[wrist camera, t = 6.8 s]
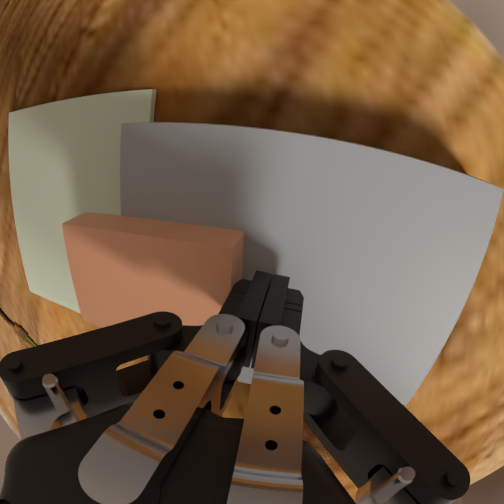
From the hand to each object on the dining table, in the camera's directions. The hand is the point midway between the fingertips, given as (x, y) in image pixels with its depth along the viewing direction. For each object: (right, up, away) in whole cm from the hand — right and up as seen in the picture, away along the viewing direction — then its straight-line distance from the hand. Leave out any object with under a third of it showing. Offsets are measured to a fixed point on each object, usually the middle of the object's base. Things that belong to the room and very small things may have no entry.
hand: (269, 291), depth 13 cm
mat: (-15, +5, +7) cm, 17 cm away
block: (-6, +1, +2) cm, 6 cm away
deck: (+2, +1, +4) cm, 5 cm away
